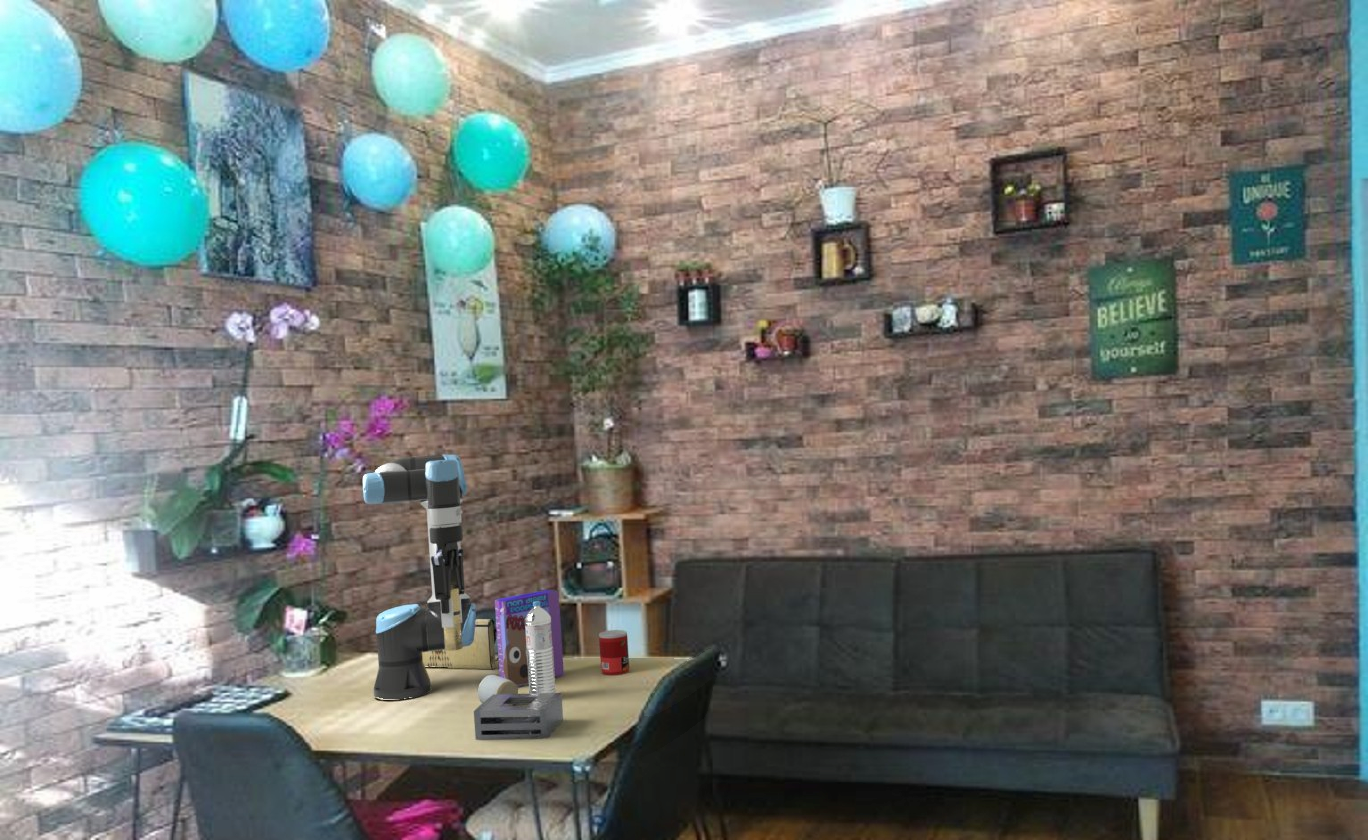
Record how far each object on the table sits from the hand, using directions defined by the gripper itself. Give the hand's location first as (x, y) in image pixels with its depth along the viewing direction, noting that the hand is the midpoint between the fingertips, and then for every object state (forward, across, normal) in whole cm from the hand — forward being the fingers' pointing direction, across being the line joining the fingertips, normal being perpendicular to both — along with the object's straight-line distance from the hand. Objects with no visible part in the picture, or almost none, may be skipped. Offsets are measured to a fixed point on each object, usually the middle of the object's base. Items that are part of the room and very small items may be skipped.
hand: (452, 624), depth 227 cm
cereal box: (+25, +43, -3) cm, 50 cm away
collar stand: (+25, +1, -15) cm, 29 cm away
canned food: (+25, +50, -25) cm, 62 cm away
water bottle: (+25, +26, -12) cm, 38 cm away
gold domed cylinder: (+6, 0, 0) cm, 6 cm away
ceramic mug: (+25, +20, -3) cm, 33 cm away
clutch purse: (+25, +60, +26) cm, 70 cm away
